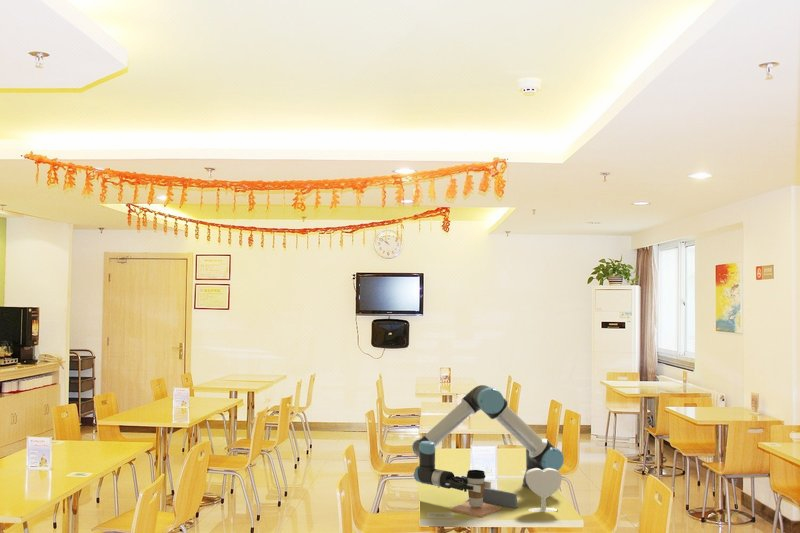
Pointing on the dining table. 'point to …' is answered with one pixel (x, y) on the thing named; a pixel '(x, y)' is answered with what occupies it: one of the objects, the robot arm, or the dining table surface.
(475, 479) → the coffee cup
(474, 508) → the terracotta tile
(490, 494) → the gray rectangular board
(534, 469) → the heart sculpture
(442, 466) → the dining table surface
